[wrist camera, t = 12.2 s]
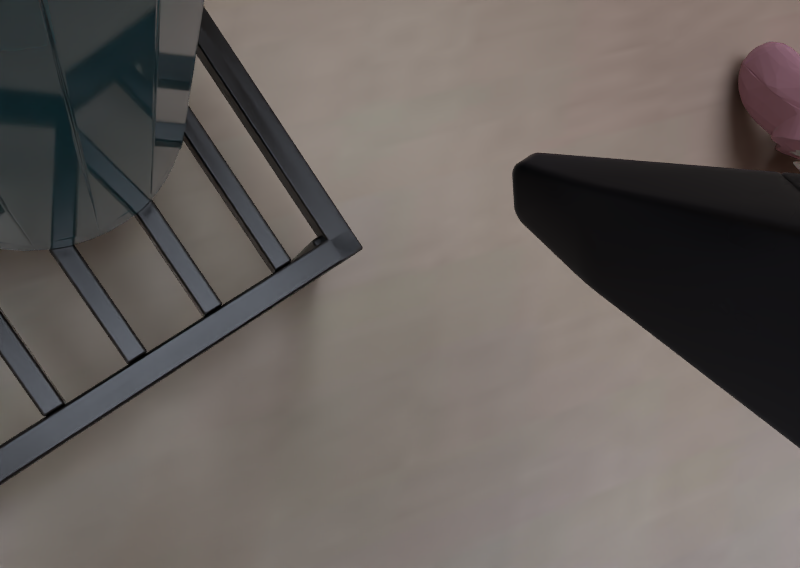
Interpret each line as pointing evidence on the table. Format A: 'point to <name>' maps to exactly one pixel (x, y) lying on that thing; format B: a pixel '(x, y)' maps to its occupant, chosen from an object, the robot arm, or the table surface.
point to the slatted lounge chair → (184, 271)
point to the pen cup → (89, 112)
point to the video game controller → (774, 94)
